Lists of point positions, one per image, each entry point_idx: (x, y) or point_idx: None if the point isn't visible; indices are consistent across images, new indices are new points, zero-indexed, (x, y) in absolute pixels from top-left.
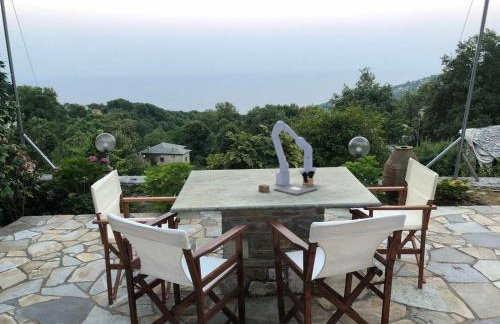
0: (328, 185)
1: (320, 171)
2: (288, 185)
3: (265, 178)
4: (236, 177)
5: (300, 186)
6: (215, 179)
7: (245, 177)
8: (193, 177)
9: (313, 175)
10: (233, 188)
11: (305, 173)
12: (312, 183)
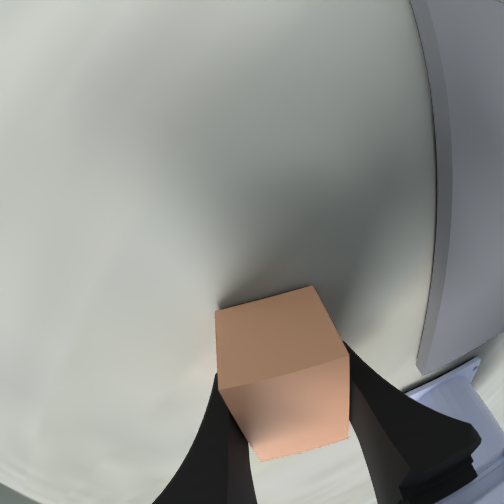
0: (23, 134)
1: (21, 481)
2: (502, 326)
3: (360, 494)
4: None
5: (498, 231)
6: None
7: None
8: None
9: (186, 463)
10: None
11: (450, 468)
12: (239, 317)
